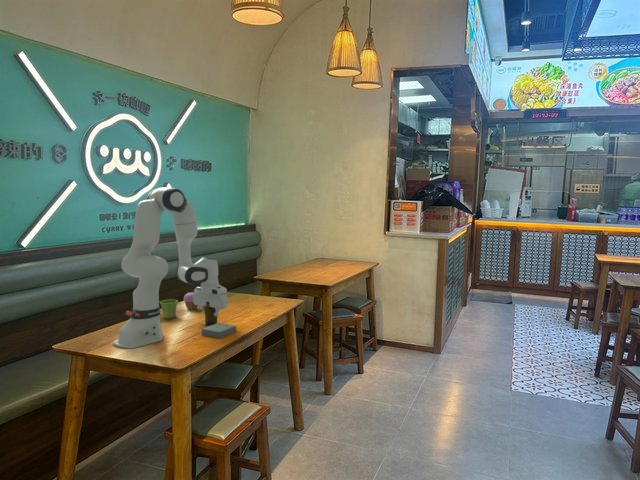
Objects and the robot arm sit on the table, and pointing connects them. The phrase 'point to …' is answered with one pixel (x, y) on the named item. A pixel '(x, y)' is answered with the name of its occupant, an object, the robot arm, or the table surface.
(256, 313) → the table surface
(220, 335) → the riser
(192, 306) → the cupcake
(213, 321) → the condiment
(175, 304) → the plant pot
